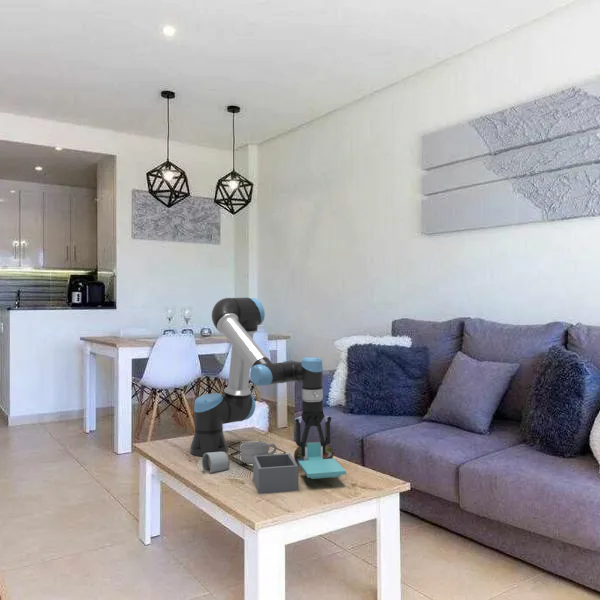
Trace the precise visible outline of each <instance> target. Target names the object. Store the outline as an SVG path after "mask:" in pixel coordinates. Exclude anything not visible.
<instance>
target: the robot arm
mask: <svg viewBox="0 0 600 600" xmlns="http://www.w3.org/2000/svg"><path fill="white" fill-rule="evenodd" d="M211 311H212V312H211V320H212V323H213V325H214V328H216V330H217V331H218V332H219V333H220V334H223V335H224V336H225V337H226V338H227V340H228V341H229V342H230V344H231V350H230V351H231V353H230V362H229V363H230V364H229V373H228V374H229V375H228V383H227V384H228V385H227V387H225V388H224V390H223V395H222V393H219V392H218V393H217V392H215V393H206V394H203V395H200V396H198V397H197V398H196V399H195V400H194V406H193V411H194V415H193V416H194V417H193V419H194V423H193V424H194V434H193V438H192V442H191V444H190V448H189V449H190V451H189V452H190V454H191V455H193V456H197V457H203V455H204V454H205V453H211V452H226V453H227V452H228V444H227V440H226V438H225V435H224V430H223V429H224V425H226V424H233V423H236V422H237V423H238V422H243V421H246V420H249V419H250V418H251V417H253V415H254V413H255V411H256V400H255V397H254V395H253V394H252V391H251V389H250V388H249V383H250V382H249V380H250V378H251V382H252V383H253V384H254V385H255V386H259V387H260V386H261V387H262V386H270V385H271V386H272V385H276V384H284V383H292V382H296V383H301V384H302V385H301V390H302V391H301V399H302V400H303V401H302V402H301V404H302V407H301V408H302V410H301V411H302V413H301V414H300V416H298V417H294V422H295V445H296V446H297V447H299V446H300V447H301V455H302V456H304V461H305V460H307V447H306V446H305V445H306V442H308V441H307V440H308V436H309V432H310V429H311V427H316V431H317V434H318V438H319V442H320V443H321V447H320V449H321V457H322V458H323V455H325V446H326V445H330V444H331V422H332V417H331V416H329V415H325V414H324V401H323V399H324V391H323V390H324V385H323V383H324V382H323V381H324V380H323V379H324V378H323V373H324V369H323V368H324V366H323V359H322V358H320V357H317V356H316V357H315V356H311V357H310V356H309V357H307V356H306V357H303V358H302V359H301V361H296V360H293V359H292V360H284V361H282V362H274V363H273V362H272V361H271V359H269V358H268V357H267V355H266V354H265V353H264V351H263V350H262V349H261V347H260V346H259V345H258V343H256V341H255V340H254V334H255V333H256V332H258V327H259V326H260V325H262V324H263V322H264V320H265V316H266V313H265V308H264V306H263V304H262V302H261V301H260V300H259V299H257V298H254V297H225V298H222V299H220V300H219V301H217V302H216V303H215V304H214V306H213V308H212V310H211ZM302 421H303V422H304V428H303V433H302V437H301V423H302ZM322 421H324V429H325V432H324V433H323V429H322V425H321V423H322ZM324 434H325V435H324Z"/></svg>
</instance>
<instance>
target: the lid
mask: <svg viewBox="0 0 600 600" xmlns="http://www.w3.org/2000/svg"><path fill="white" fill-rule="evenodd" d="M320 443H321V442H320V441H310V442H309V441H306V447H307V460H305V461H298V464H299V466H298V467H300V469H301V470H302V472H303V473H304V475H305V476H306V477H307V478H310V479H311V480H313V479H314V480H315V479H327V478H328V479H329V478H338V477H339V478H341V476H345V475H347V470H346V469H345V468H344V467H343V466H342V465H341V463H339V462H338V461H337V460H336V459H335V458H334V457H333V458H332V459H323V458H322V457H321V449H320V447H321V444H320ZM298 464H297V465H298Z"/></svg>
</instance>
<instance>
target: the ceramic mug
mask: <svg viewBox="0 0 600 600" xmlns="http://www.w3.org/2000/svg"><path fill="white" fill-rule="evenodd" d="M201 466H202V470H203V473H206V470H209V472H208V474H214V473H219V472H223V471H227V470H229V468H230V456H229V455H228V453H227V452H211V453H205V454H204V455H203V456H202V460H201Z"/></svg>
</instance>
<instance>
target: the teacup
mask: <svg viewBox="0 0 600 600" xmlns="http://www.w3.org/2000/svg"><path fill="white" fill-rule="evenodd" d="M271 447H273V451H271V452H270V453H269V450H270V448H271ZM277 448H278V447H277V445H276V444H275V443H273V442H270V443H268V442H266V441H248V442H243V443H241V444H240V458H241V459H240V460H241V461H242V462H243V464H245V463H246V464H253V456H259V455H274V454H276V451H277ZM246 464H245V465H246Z"/></svg>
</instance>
